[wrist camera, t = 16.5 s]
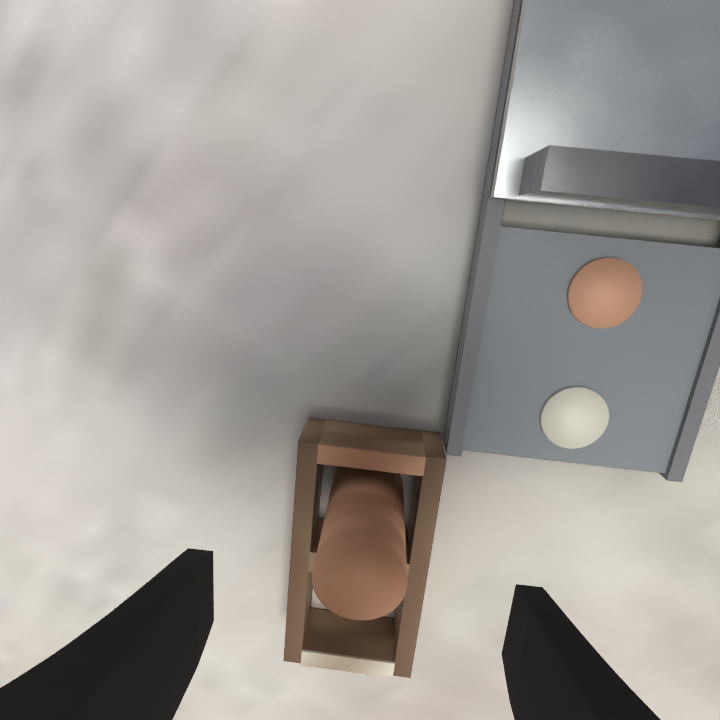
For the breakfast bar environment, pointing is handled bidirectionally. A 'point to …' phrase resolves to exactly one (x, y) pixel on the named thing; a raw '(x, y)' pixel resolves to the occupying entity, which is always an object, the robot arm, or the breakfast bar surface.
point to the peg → (362, 545)
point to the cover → (614, 107)
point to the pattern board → (582, 341)
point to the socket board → (305, 624)
